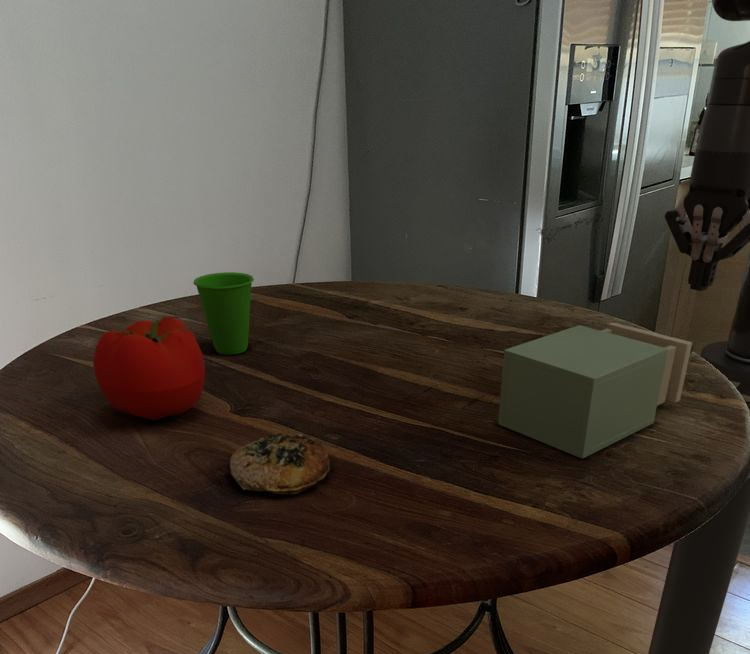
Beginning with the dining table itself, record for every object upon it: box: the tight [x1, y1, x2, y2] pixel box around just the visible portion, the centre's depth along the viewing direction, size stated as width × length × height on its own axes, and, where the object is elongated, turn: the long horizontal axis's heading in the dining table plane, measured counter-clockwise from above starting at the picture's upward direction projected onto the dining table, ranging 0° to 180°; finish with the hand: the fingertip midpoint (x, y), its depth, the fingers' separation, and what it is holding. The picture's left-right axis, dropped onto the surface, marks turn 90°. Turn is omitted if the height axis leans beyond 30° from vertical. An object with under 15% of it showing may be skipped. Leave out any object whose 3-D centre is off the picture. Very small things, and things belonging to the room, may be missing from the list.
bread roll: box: [229, 433, 331, 496], centre depth 80 cm, size 11×11×5 cm
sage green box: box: [497, 324, 668, 459], centre depth 89 cm, size 15×13×10 cm
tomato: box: [92, 316, 206, 422], centre depth 93 cm, size 13×14×12 cm
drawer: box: [600, 321, 694, 407], centre depth 95 cm, size 20×11×8 cm, turn 130°
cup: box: [193, 271, 255, 355], centre depth 114 cm, size 9×9×11 cm
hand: (698, 289), depth 98 cm, fingers closed
